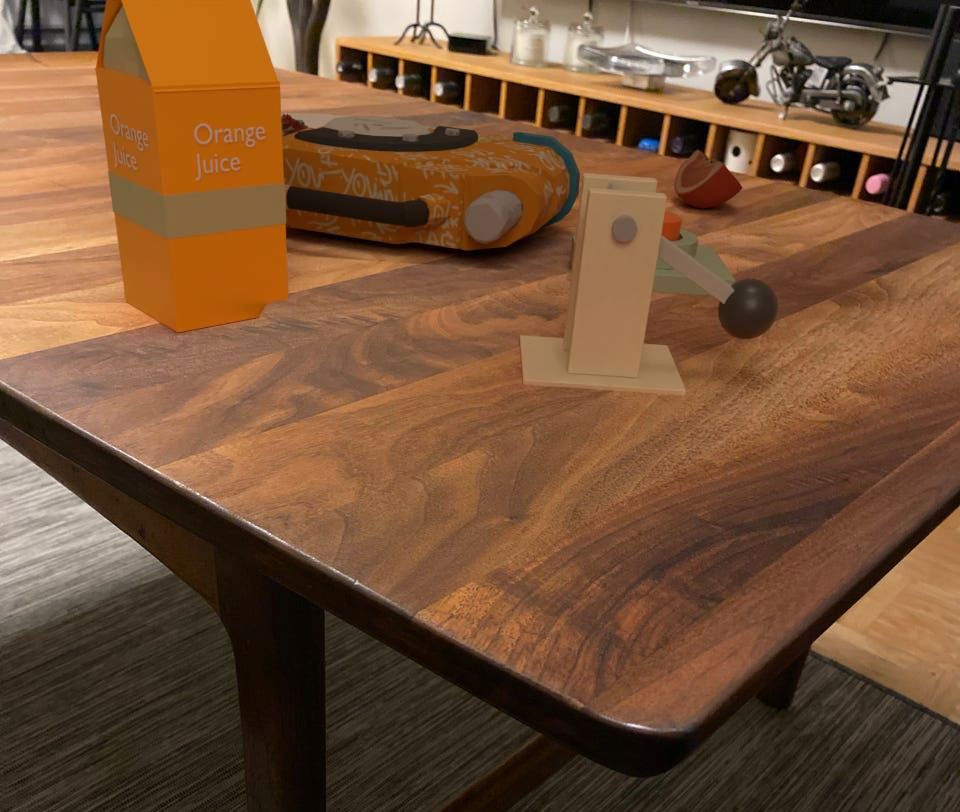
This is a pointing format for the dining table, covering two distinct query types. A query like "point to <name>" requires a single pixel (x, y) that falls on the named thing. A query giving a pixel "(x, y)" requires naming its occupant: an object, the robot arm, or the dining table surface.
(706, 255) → the button housing
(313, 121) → the plated food
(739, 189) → the broken clay pot piece
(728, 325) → the lever
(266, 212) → the orange juice
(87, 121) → the dining table surface
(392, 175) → the orange patterned backpack
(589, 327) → the lever stand
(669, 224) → the button
